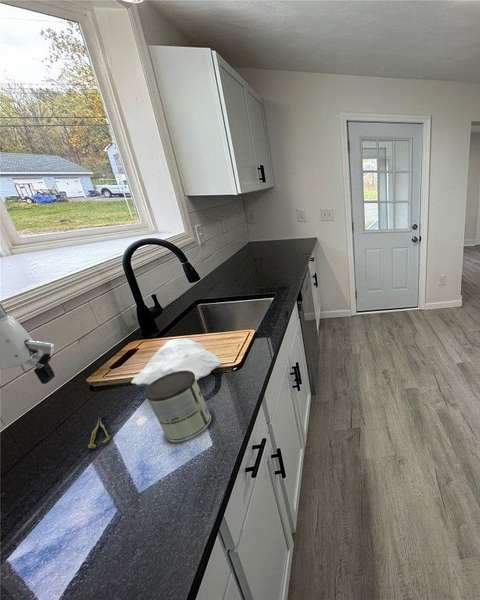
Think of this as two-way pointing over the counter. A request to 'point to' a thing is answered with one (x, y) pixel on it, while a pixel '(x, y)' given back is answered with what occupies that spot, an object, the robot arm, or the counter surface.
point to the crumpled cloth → (178, 361)
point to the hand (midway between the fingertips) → (21, 385)
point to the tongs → (95, 434)
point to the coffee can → (178, 405)
